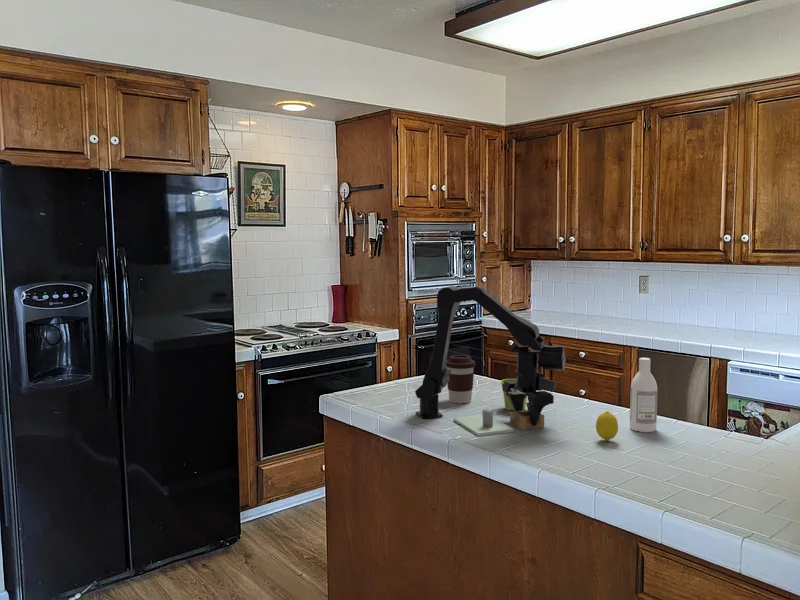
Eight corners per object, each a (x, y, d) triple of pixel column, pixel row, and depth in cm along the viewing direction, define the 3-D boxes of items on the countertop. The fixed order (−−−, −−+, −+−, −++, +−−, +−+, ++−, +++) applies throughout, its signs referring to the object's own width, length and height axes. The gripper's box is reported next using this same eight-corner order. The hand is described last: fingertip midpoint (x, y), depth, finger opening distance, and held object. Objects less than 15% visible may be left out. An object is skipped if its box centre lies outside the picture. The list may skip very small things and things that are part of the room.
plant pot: (521, 404, 206) (521, 377, 205) (536, 411, 197) (536, 383, 196) (494, 406, 203) (495, 379, 202) (509, 414, 194) (509, 386, 193)
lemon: (619, 445, 164) (619, 414, 163) (596, 443, 165) (597, 413, 164) (616, 438, 169) (616, 409, 169) (594, 437, 170) (595, 408, 170)
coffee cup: (480, 400, 211) (480, 355, 210) (467, 406, 203) (467, 360, 202) (453, 396, 217) (453, 352, 215) (439, 402, 208) (439, 357, 207)
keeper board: (453, 420, 187) (453, 403, 187) (487, 417, 191) (487, 399, 191) (478, 436, 172) (478, 417, 172) (513, 431, 176) (514, 413, 176)
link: (509, 423, 184) (510, 411, 184) (531, 421, 186) (531, 409, 186) (522, 430, 178) (522, 417, 177) (544, 427, 180) (544, 415, 180)
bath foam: (661, 431, 175) (664, 359, 173) (641, 434, 173) (643, 361, 171) (644, 424, 182) (646, 355, 180) (624, 427, 179) (626, 357, 177)
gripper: (570, 372, 174) (569, 427, 176) (534, 360, 192) (533, 411, 193) (535, 375, 171) (534, 432, 172) (501, 363, 188) (501, 414, 190)
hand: (526, 421), depth 182 cm, fingers open, 8 cm apart
